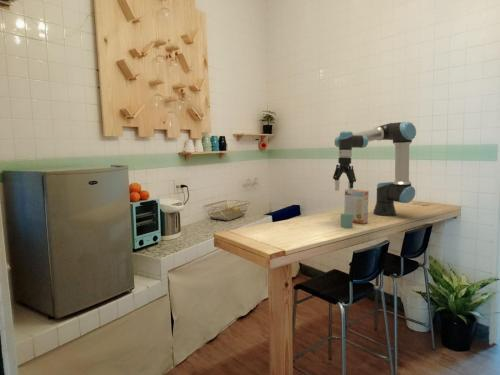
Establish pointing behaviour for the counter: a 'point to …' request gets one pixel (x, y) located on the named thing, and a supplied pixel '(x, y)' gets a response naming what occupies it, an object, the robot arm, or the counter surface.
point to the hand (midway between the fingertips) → (343, 192)
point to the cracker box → (357, 205)
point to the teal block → (347, 220)
